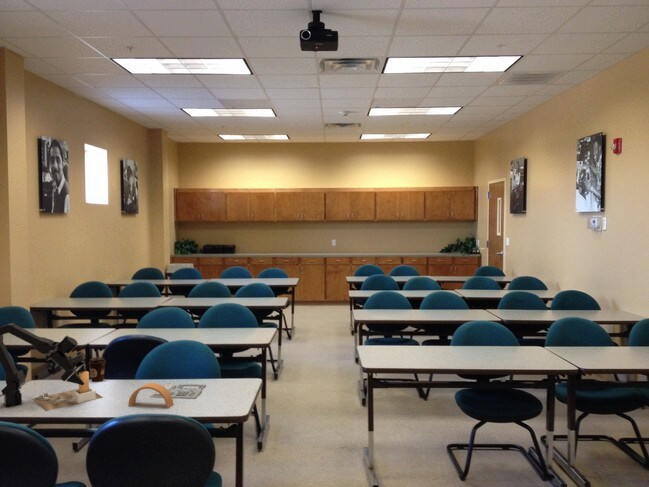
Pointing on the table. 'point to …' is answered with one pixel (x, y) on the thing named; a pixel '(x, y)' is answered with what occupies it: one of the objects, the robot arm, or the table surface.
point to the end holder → (84, 395)
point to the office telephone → (182, 391)
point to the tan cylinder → (85, 378)
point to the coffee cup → (97, 369)
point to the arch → (156, 387)
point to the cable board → (57, 400)
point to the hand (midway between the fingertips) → (86, 381)
